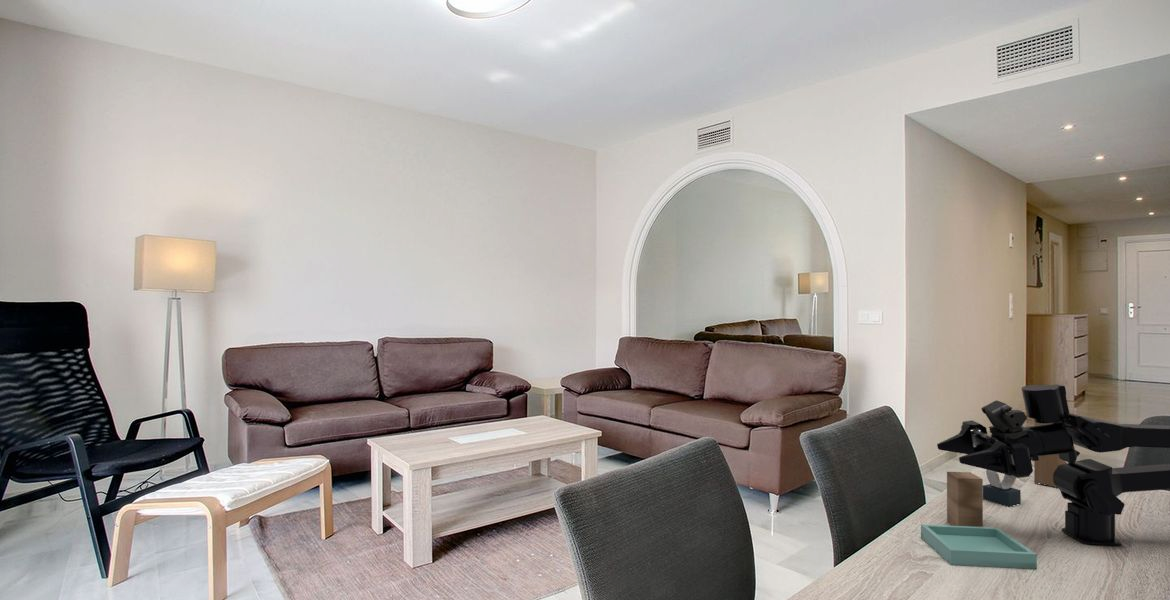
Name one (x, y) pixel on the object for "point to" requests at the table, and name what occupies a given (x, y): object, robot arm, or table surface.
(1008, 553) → the tray
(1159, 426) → the robot arm
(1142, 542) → the table surface
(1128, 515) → the table surface
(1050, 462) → the wooden block
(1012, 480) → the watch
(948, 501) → the tall brown wood pillar
